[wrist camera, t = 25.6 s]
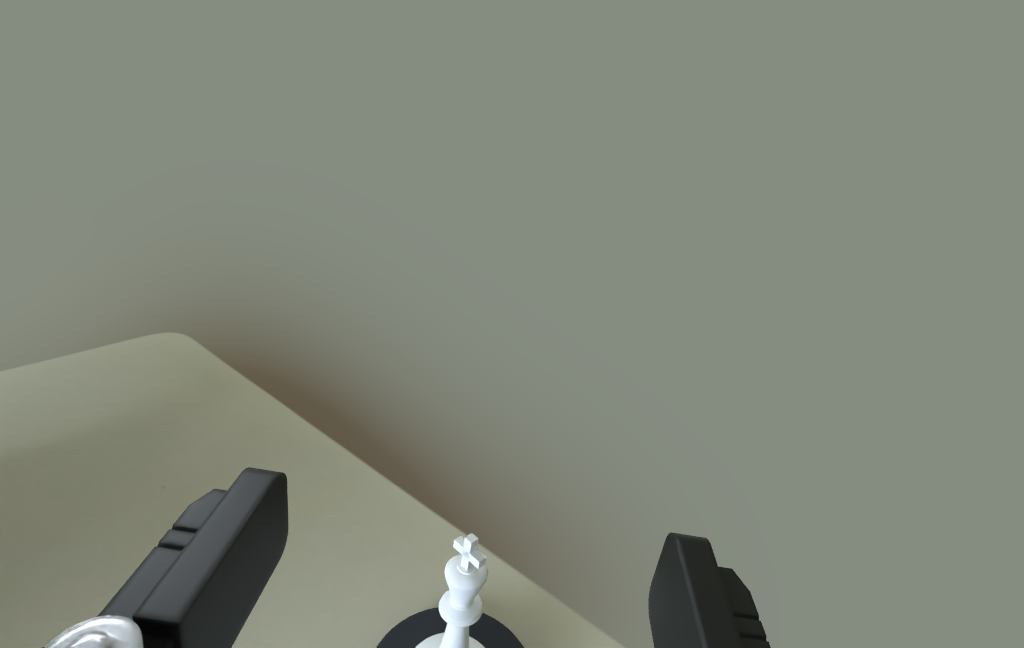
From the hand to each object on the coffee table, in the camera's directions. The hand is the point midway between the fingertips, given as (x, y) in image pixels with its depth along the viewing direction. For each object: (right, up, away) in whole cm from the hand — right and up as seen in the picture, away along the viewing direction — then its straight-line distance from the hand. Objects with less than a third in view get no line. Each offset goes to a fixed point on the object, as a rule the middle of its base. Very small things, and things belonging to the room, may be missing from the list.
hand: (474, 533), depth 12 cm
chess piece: (-3, -15, +18) cm, 24 cm away
